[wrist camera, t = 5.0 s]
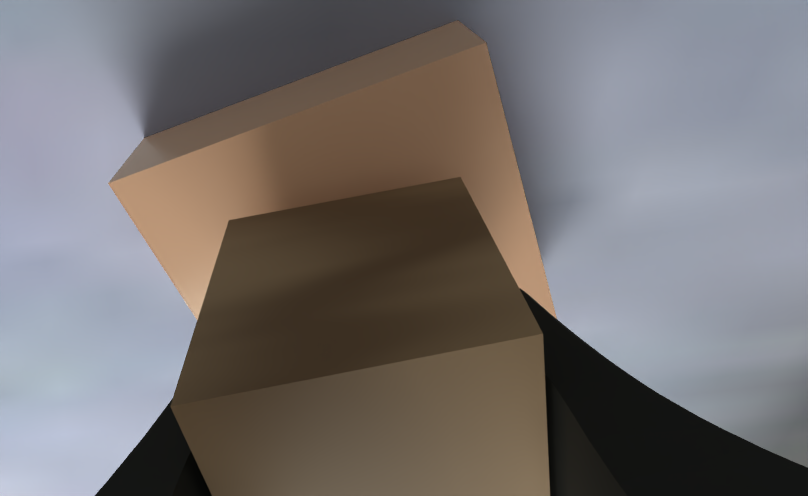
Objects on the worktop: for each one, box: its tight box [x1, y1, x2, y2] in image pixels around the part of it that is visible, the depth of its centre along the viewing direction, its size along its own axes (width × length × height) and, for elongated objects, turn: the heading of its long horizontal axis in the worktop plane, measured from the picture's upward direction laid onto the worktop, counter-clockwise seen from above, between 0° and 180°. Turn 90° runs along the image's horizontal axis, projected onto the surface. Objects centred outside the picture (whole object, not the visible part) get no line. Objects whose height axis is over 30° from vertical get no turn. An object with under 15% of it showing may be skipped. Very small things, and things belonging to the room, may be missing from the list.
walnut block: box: [170, 177, 550, 496], centre depth 10 cm, size 4×4×5 cm
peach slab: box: [108, 20, 557, 320], centre depth 15 cm, size 8×8×3 cm
